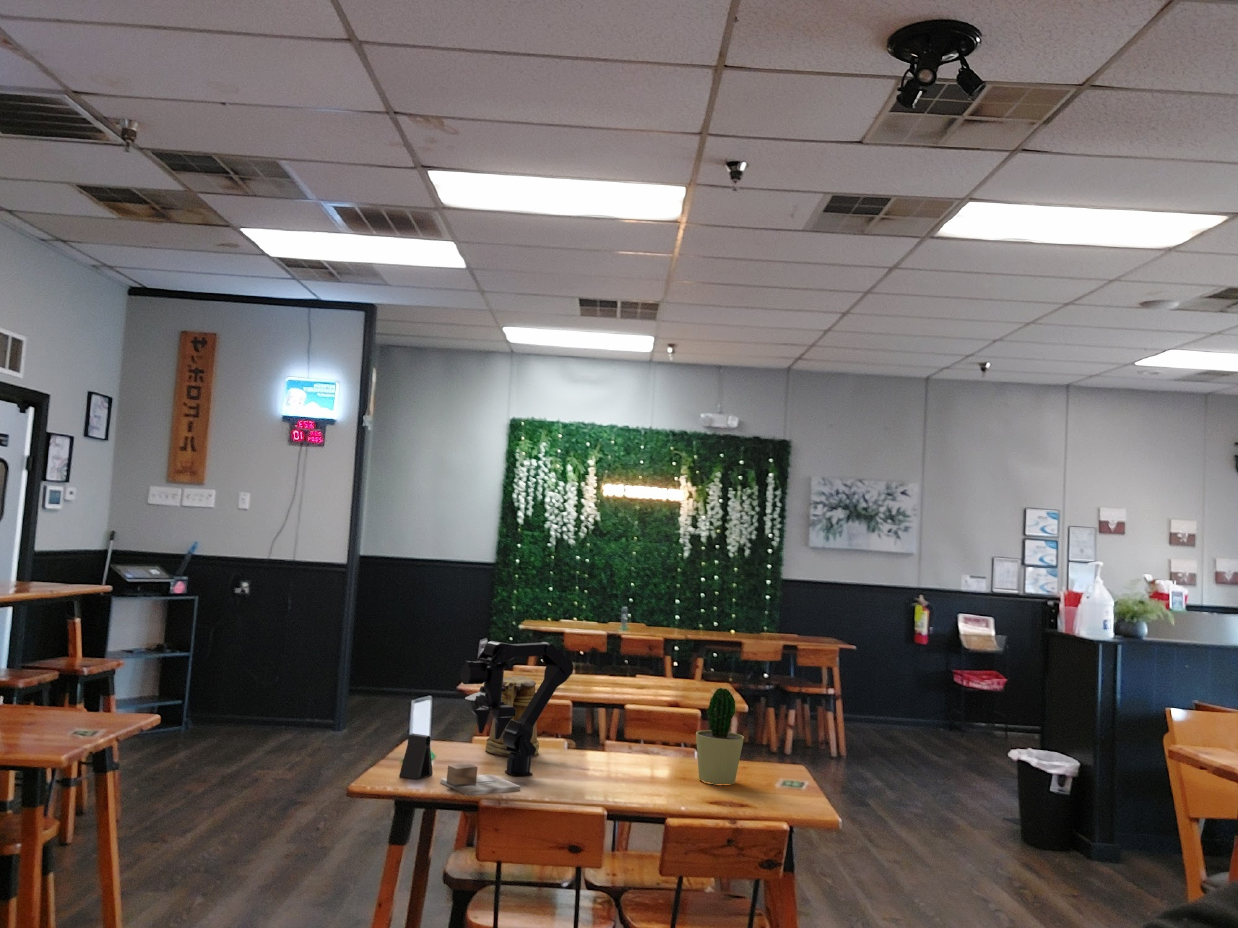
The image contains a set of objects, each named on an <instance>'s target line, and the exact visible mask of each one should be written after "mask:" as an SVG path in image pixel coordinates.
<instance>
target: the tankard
mask: <svg viewBox="0 0 1238 928" xmlns="http://www.w3.org/2000/svg"><path fill="white" fill-rule="evenodd" d="M536 685H537V682H536V681H535V680H534V679H533V678H530V677H526V676H523V675H519V676H517V675H516V676H515V675H513V676H507V677H503V688H505V692H502V700H501V701H503V702H504V705H509V706H513V707H514V708H515V709H516V716H515V717H513V719H511V720H514V721H517V720H518V719H519V718H520V717H521V716H522V714H523V712H524V711H525V709H526V708H527V706H528V704H529V703H530V701H531V700H532V698H533V696H534V695H535V693H536ZM511 720H510V721H511ZM510 721H509V722H510ZM508 724H509V723H508ZM508 724H507V726H508ZM507 726H506V727H505V729H506V728H507ZM505 729H504V730H505ZM537 729H538V728H537V722H536V723H535V724H534V727H533V736H532V738H531V741H530V742H531V743H532V744H533V745H534V747H535V748H536V751H535V754H534V756H536V755H537V754H538V753H539V749H540V745H539V743H540V742H539V741H540V740H538V732H537ZM489 731H490V732H489V736H488V738H486V744H485V751H486V752H488V753H489V754H492V755H494V756H500V757H508V758H509V753H511V752H509V751H507V750H506V745H505V744H504V742H503V734H504V732H505V731H503V733H502V734H501V736H500V738H499V739H495V721H494V719H493V718H492V724H491V726H490V730H489Z"/></svg>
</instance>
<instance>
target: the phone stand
mask: <svg viewBox="0 0 1238 928" xmlns="http://www.w3.org/2000/svg"><path fill="white" fill-rule="evenodd" d="M431 741H432V739H431V736H430V735H426V734H419V733H412V732H411V733H409V735H408V737H407V745H406V749H405V752H404V753H405V754H404V757H403V760H402V764H401V768H400V771H399V775H398V777H399V778H402V779H407V780H408V779H409V780H415V781H419V780H422V779H425V778H428V777H431V776H433V775H434V773H433V764H432V752H431Z"/></svg>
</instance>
